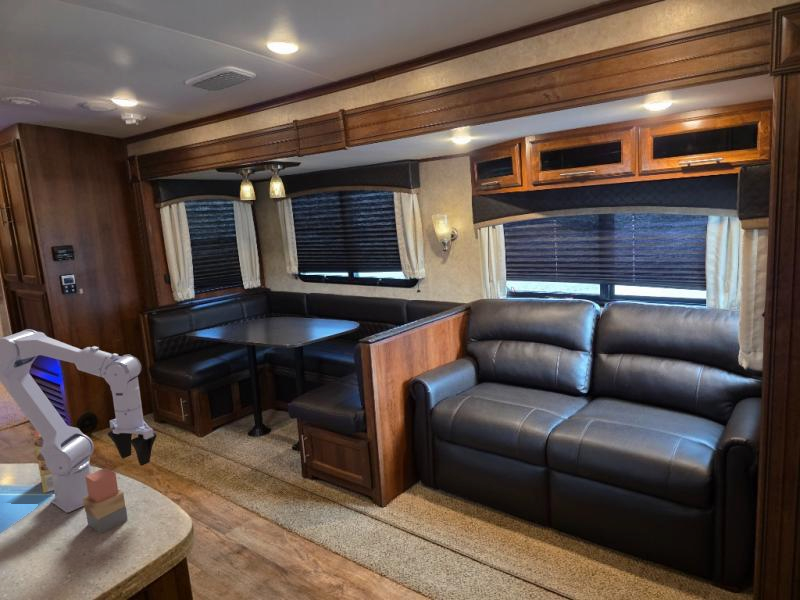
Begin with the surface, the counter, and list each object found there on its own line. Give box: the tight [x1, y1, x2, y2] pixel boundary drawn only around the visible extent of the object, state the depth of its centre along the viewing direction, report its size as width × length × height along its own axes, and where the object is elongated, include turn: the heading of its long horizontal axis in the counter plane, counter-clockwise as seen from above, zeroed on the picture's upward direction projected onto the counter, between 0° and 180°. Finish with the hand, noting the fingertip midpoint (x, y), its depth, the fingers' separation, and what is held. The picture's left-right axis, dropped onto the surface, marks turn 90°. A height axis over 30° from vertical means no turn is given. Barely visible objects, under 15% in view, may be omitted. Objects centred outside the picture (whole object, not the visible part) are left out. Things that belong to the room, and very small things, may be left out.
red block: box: [85, 467, 119, 502], centre depth 117 cm, size 4×4×5 cm
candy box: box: [32, 427, 54, 494], centre depth 135 cm, size 9×4×15 cm, turn 33°
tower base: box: [85, 505, 129, 534], centre depth 118 cm, size 6×6×4 cm
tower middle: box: [83, 489, 126, 520], centre depth 118 cm, size 6×6×4 cm
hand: (135, 460), depth 126 cm, fingers open, 7 cm apart
